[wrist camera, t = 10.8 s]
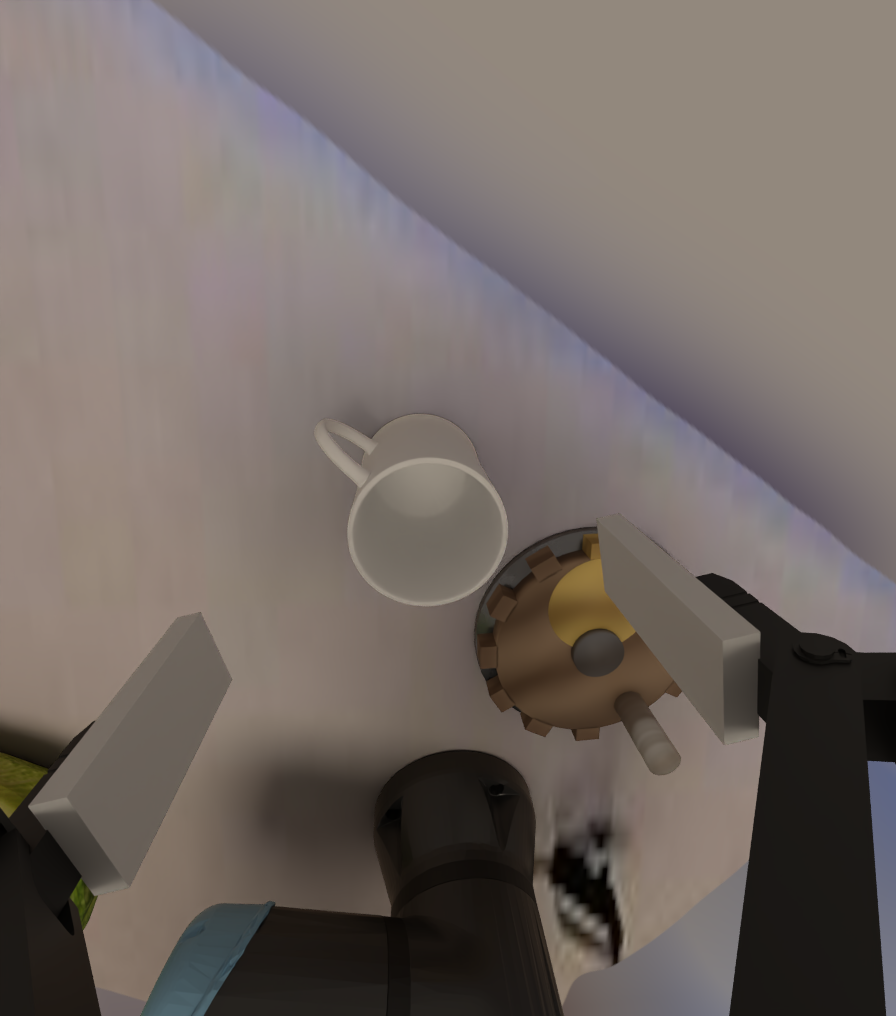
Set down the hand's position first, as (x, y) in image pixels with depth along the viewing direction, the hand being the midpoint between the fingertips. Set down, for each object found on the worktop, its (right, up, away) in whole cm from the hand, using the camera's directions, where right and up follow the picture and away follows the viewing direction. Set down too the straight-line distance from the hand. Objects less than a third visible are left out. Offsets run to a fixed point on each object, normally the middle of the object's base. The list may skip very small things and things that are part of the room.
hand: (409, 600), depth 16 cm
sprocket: (+13, -8, +24) cm, 28 cm away
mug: (-2, +7, +19) cm, 20 cm away
